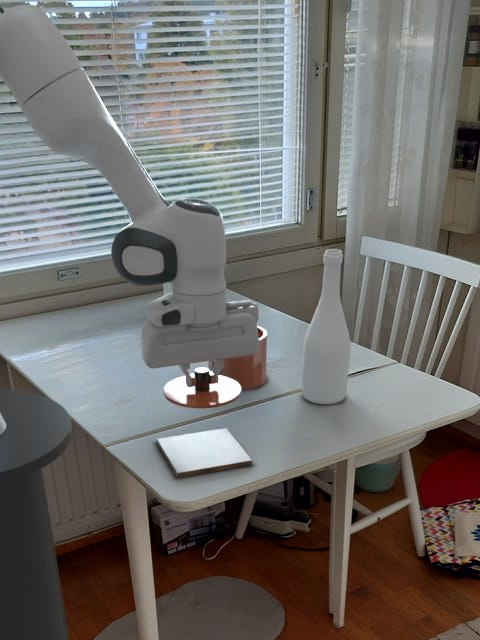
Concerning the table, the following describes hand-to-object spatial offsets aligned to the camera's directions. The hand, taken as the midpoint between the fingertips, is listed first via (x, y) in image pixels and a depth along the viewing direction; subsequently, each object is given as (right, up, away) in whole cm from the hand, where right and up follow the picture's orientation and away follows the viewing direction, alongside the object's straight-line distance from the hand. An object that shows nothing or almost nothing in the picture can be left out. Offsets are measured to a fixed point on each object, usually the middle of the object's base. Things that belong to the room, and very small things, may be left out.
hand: (202, 384), depth 137 cm
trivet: (0, -11, +8) cm, 14 cm away
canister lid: (0, -1, +1) cm, 2 cm away
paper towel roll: (-11, +37, +80) cm, 89 cm away
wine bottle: (+24, +3, +29) cm, 38 cm away
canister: (+6, +8, +37) cm, 38 cm away
